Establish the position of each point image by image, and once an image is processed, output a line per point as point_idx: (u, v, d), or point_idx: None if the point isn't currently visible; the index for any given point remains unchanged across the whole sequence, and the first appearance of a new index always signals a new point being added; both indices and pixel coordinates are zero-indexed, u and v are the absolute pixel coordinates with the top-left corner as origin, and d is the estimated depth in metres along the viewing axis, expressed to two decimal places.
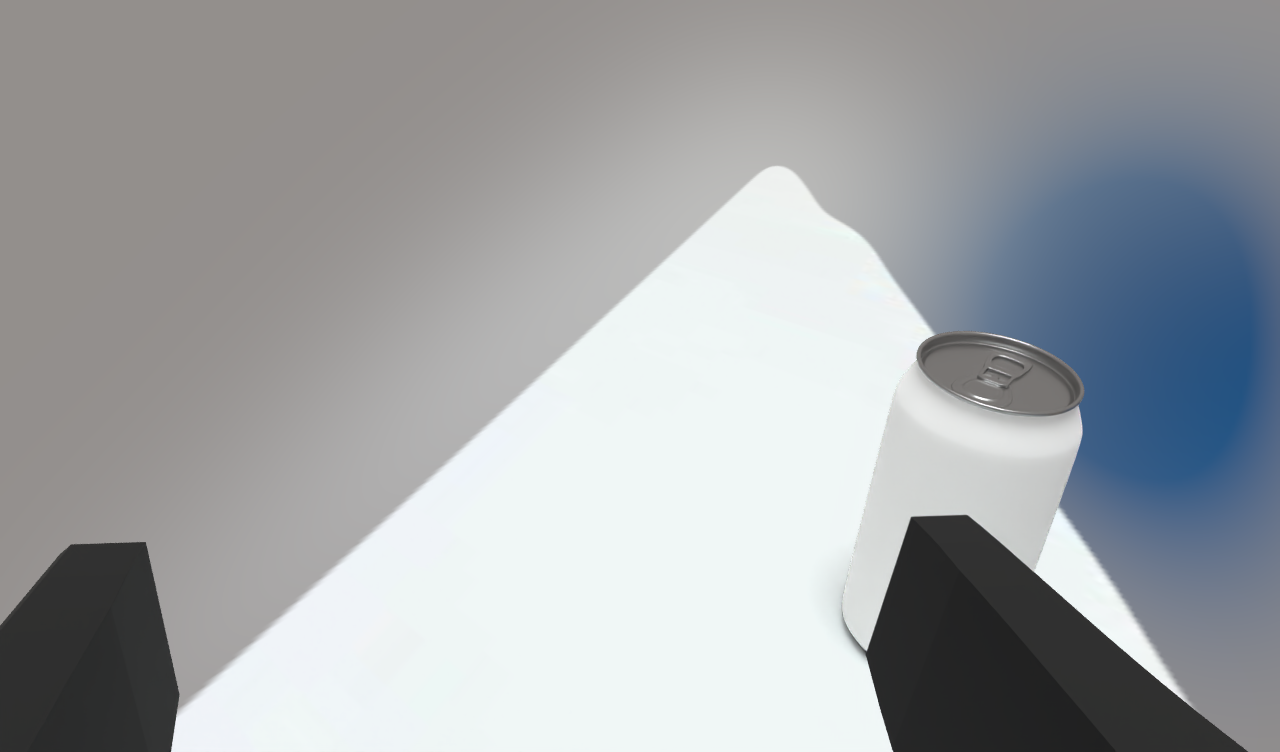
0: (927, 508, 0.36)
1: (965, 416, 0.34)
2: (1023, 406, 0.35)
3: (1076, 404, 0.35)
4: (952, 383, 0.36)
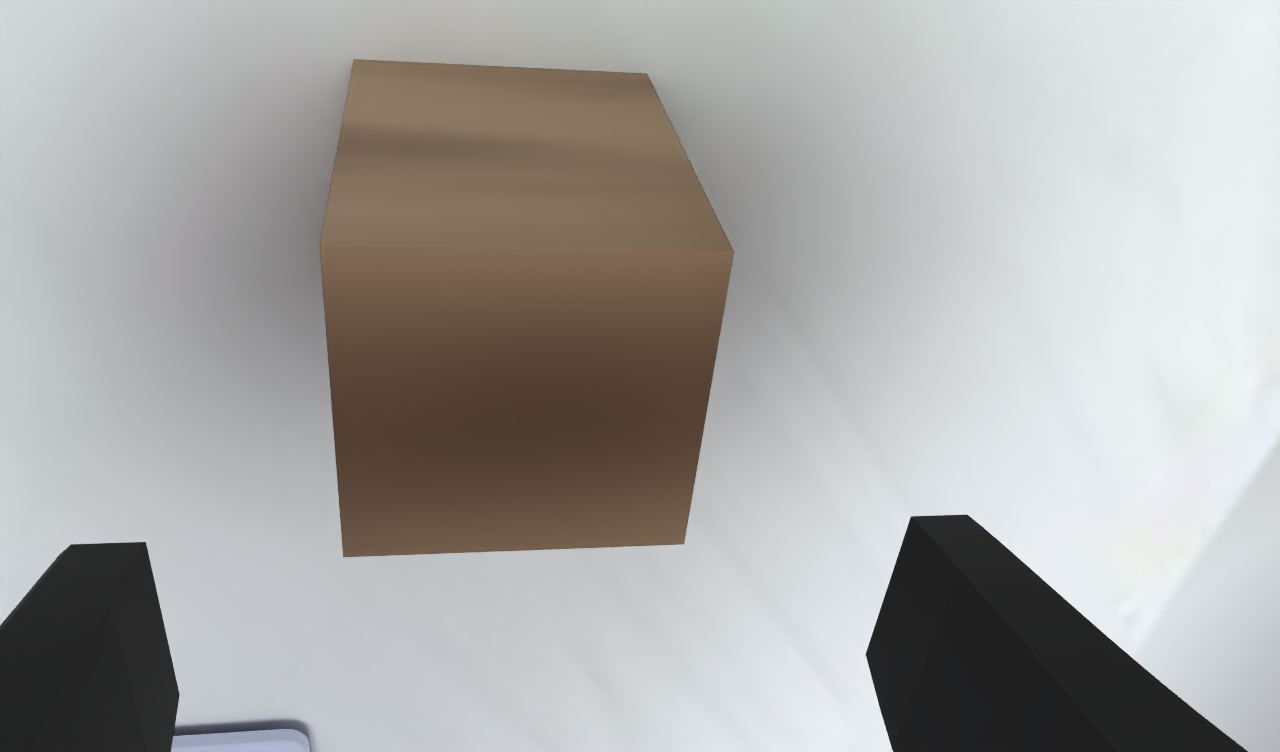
0: None
1: None
2: None
3: None
4: None
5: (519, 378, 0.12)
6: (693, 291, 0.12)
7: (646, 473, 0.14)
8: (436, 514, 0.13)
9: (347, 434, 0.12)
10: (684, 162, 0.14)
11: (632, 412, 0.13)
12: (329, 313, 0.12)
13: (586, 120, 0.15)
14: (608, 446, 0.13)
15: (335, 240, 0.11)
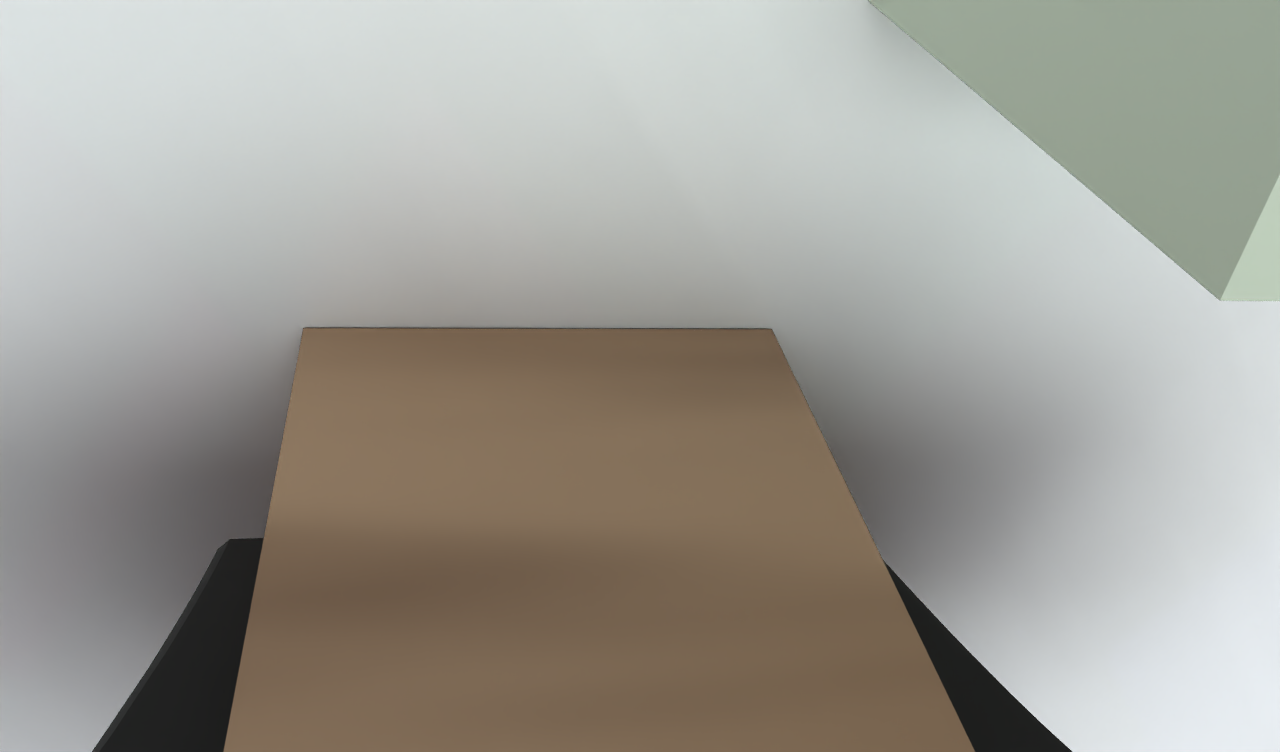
0: None
1: None
2: None
3: None
4: None
5: None
6: None
7: None
8: None
9: None
10: (885, 586, 0.08)
11: None
12: None
13: (696, 470, 0.09)
14: None
15: None
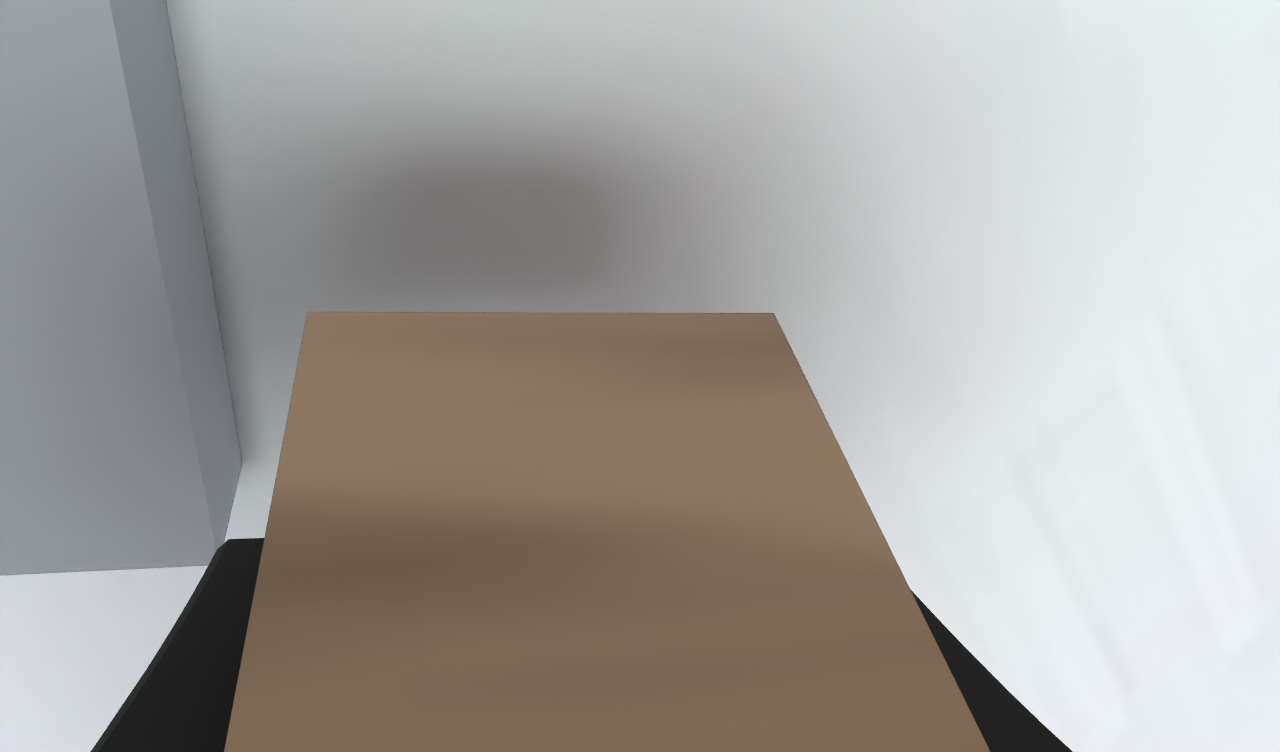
0: None
1: None
2: None
3: None
4: None
5: None
6: None
7: None
8: None
9: None
10: (887, 563, 0.08)
11: None
12: None
13: (698, 451, 0.09)
14: None
15: None
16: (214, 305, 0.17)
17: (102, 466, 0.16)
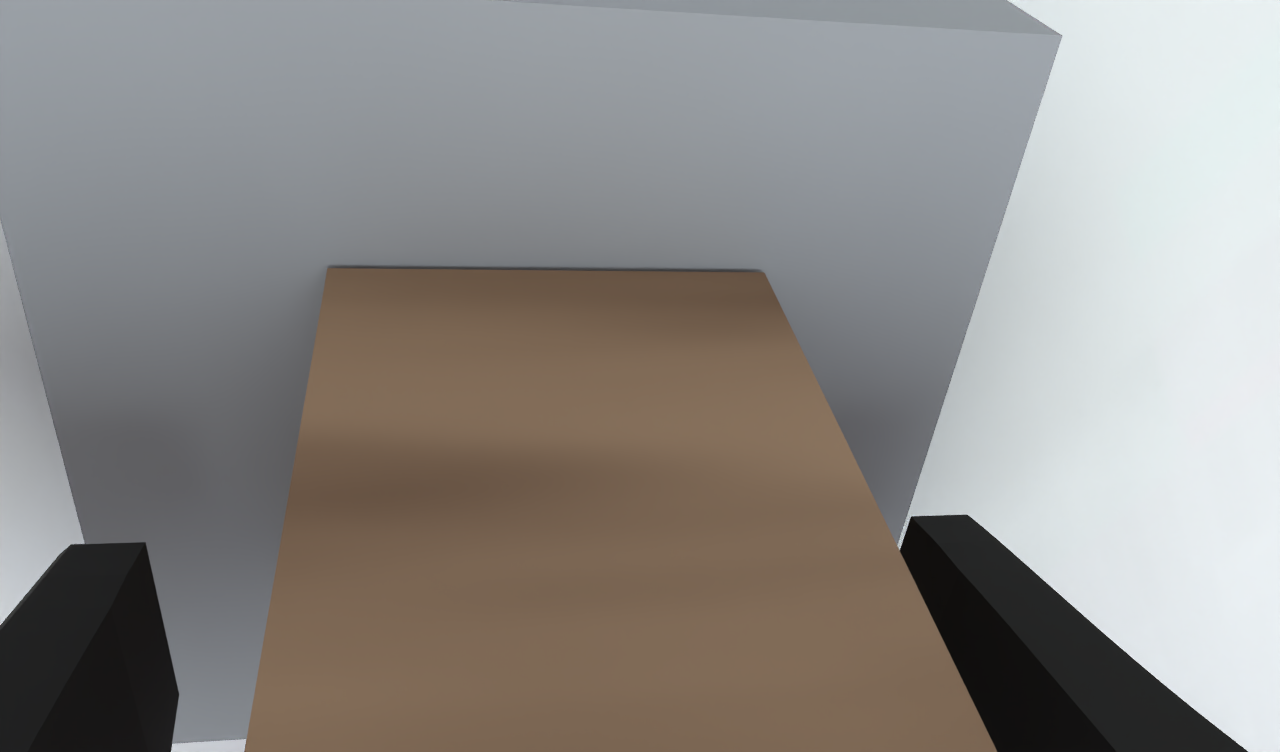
0: None
1: None
2: None
3: None
4: None
5: None
6: None
7: None
8: None
9: None
10: (862, 494, 0.08)
11: None
12: None
13: (690, 394, 0.09)
14: None
15: None
16: None
17: None
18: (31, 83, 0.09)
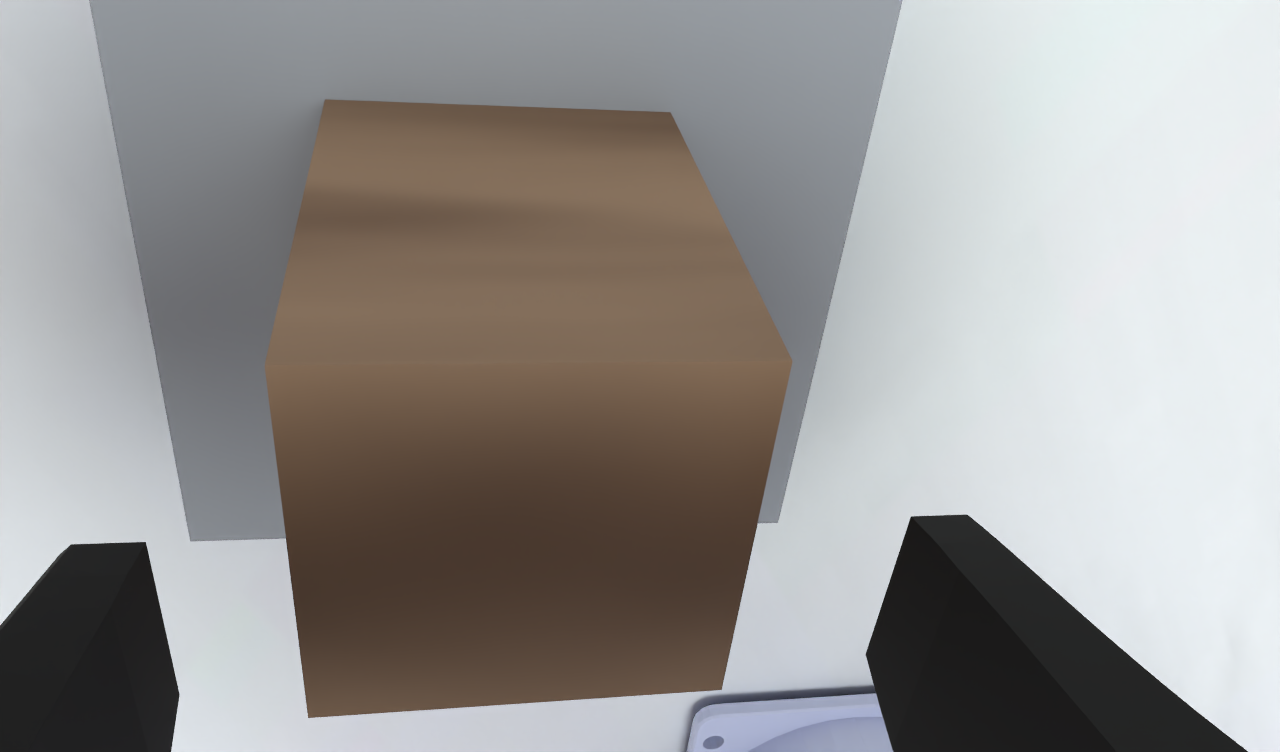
0: None
1: None
2: None
3: None
4: None
5: (522, 514, 0.10)
6: (740, 408, 0.10)
7: (679, 614, 0.11)
8: (421, 667, 0.11)
9: (308, 583, 0.10)
10: (722, 232, 0.11)
11: (662, 547, 0.11)
12: (280, 446, 0.09)
13: (602, 176, 0.12)
14: (631, 587, 0.11)
15: (285, 357, 0.09)
16: None
17: None
18: None
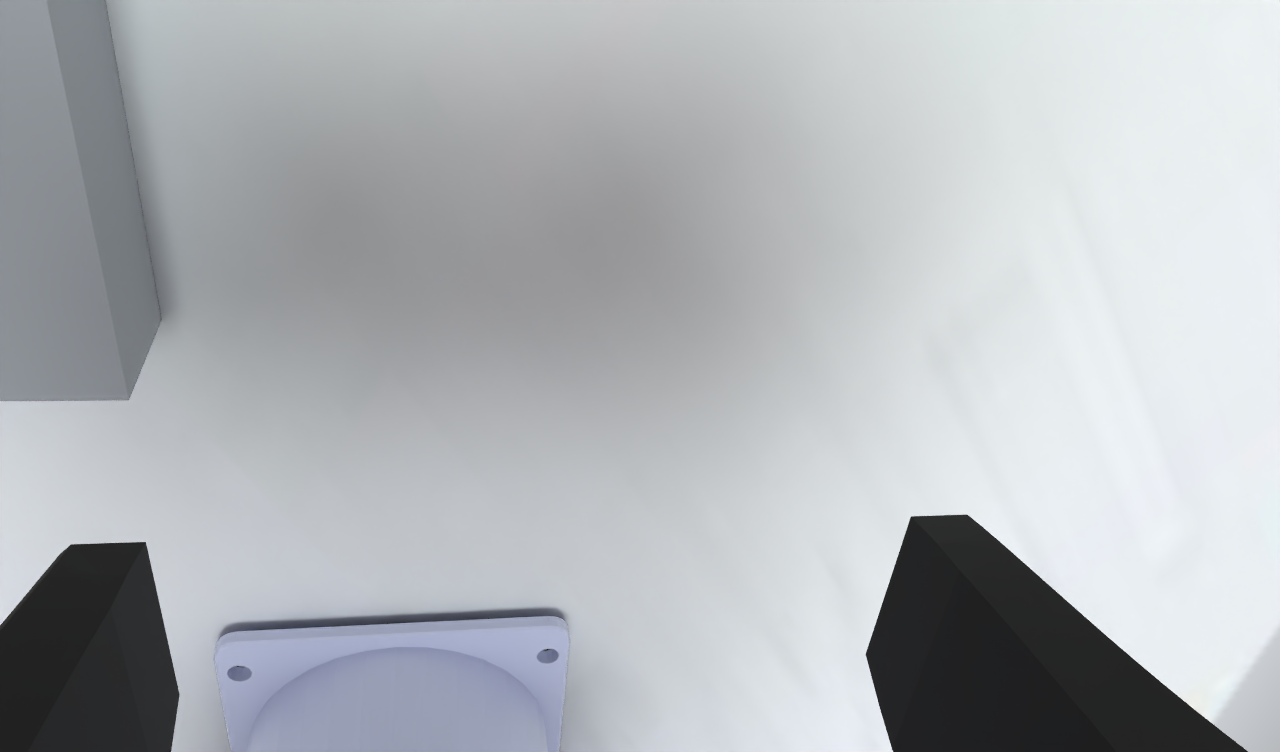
0: None
1: None
2: None
3: None
4: None
5: None
6: None
7: None
8: None
9: None
10: None
11: None
12: None
13: None
14: None
15: None
16: (129, 146, 0.17)
17: (9, 287, 0.16)
18: None
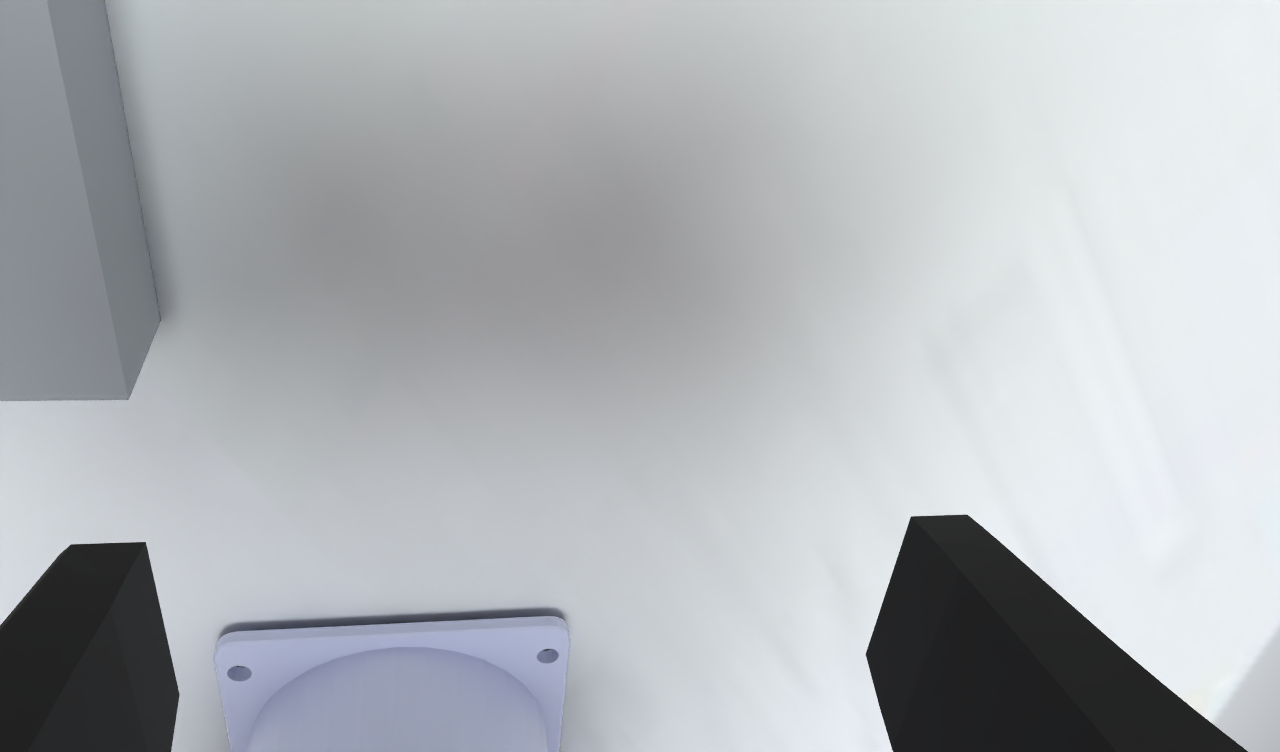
0: None
1: None
2: None
3: None
4: None
5: None
6: None
7: None
8: None
9: None
10: None
11: None
12: None
13: None
14: None
15: None
16: (129, 146, 0.17)
17: (9, 287, 0.16)
18: None
